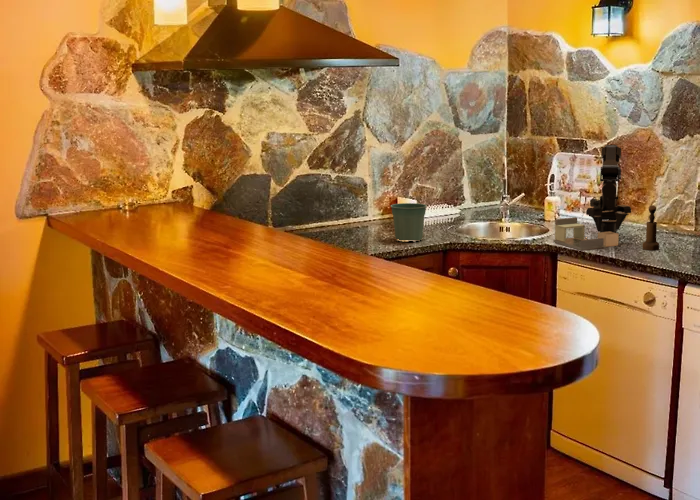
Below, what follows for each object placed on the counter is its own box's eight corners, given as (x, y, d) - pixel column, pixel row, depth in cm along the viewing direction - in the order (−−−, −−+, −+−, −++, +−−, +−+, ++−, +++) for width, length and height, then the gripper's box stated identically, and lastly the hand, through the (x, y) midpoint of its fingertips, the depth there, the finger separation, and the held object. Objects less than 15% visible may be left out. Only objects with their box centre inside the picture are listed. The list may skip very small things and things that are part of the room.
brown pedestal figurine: (639, 247, 339) (641, 204, 336) (654, 246, 340) (656, 204, 336) (646, 250, 333) (648, 206, 329) (662, 250, 333) (664, 206, 330)
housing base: (575, 240, 359) (575, 230, 358) (603, 248, 340) (603, 237, 339) (553, 242, 356) (553, 232, 355) (580, 250, 337) (580, 240, 336)
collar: (609, 242, 351) (609, 231, 350) (618, 245, 345) (618, 233, 344) (597, 244, 349) (597, 232, 348) (606, 246, 343) (606, 234, 342)
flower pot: (419, 236, 380) (418, 201, 377) (433, 242, 364) (432, 206, 361) (386, 239, 375) (385, 204, 372) (398, 245, 360) (397, 209, 357)
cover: (574, 237, 358) (575, 217, 356) (584, 239, 352) (584, 219, 350) (555, 239, 355) (555, 219, 353) (564, 241, 349) (564, 221, 347)
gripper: (616, 190, 353) (614, 226, 356) (579, 193, 347) (578, 229, 351) (632, 193, 343) (631, 229, 346) (594, 196, 337) (593, 233, 340)
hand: (608, 230), depth 346 cm, fingers open, 9 cm apart
